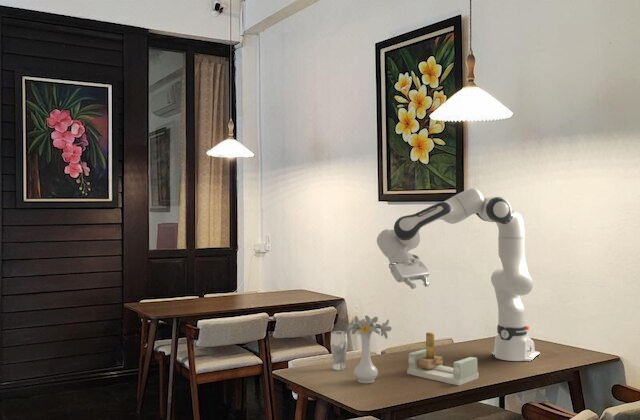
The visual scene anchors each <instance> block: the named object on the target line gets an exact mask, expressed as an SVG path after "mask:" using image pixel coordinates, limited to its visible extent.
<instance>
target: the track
mask: <svg viewBox="0 0 640 420" xmlns="http://www.w3.org/2000/svg"><path fill="white" fill-rule="evenodd" d="M424 357H426V348H424V349H420V350H416V351H412V352H409V353H408V361H407V362H408V367H407V369H406V371H407V372H406V374H407V375H410V374H411V376H414V377H415V376H416V377H419V378H424V379H429V380H432V381H438V382H442V383H447V384H451V385H455V386H462V385H464V384H466V383H467V384H468V383H470V382H472V381H475V380H478V379H479V378H480V377H479V376H480V375H479V374H480V373H479V372H478V357H473V356H469V357H466V358H462V359H460V360H456V361H454V362H453V367H451V366H445V365H443V364H442V365H439V366H436V367H433V368H430V369H426V368H421V367H418V359H420V358H424Z"/></svg>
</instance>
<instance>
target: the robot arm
mask: <svg viewBox="0 0 640 420" xmlns="http://www.w3.org/2000/svg"><path fill="white" fill-rule="evenodd" d="M472 215H476V216H477V217H478V218H479V219H480V220H482V221H484V222H488V223H496V226H497V228H498V239H497V240H498V242H497V243H498V257H499V259H500V262H501V266H502V267H500V268H497V269H495V270H494V271H493V272H492V273H491V276H490V281H491V285H492V286H493V288H494V292H495V297H496V303H497V309H498V310H497V311H498V312H497V314H498V320H497V321H498V323H497V327H496V329H497V335H496V336H495V337H494V347H493V348H494V349H493V350H494V351H491V355H492V354H493V355H492V356H494V355H495V356H494V357H495V358H496V359H497V360H502V361H509V362H510V361H511V362H532V361H534V360H535V359H536V358H537V357H536V356H537V355H539V354H540V355H541V352H540V351H538V350H537V351H536V350H535V341H534V340H532V338H531V337H530V336H529V335H528V332H527V331H529V330H530V325H527V324H526V325H525V319H526V317H525V315H526V314H525V311H526V310H525V306H524V304H523V302H522V299H521V296H523V297H524V296H526V295H527V296H528V294H530V293H531V291H533V288H534V280H533V279H532V277H531V276H530V274H529V270H528V269H529V268H528V265H527V260H526V251H525V250H526V247H525V245H526V243H525V242H526V241H525V234H526V233H525V226H524V219H523V217H522V215H521V214H519V213H518V212H515V211H514V210H513V209H512V206H511V203H510V202H509V201H508V200H507V199H506V198H504V197H502V196H501V197H500V196H489V197H484V196H483V194H482V192H481V191H480V190H478V189H476V188H468V189H466V190H464V191H461V192H459V193H457V194H456V195H453V196H451V197H450V198H448V199H446V200H444V201H440V202H438V203H436V204H433V205H430V206H429V207H426V208H424V209H423V210H421V211H420V210H419V211H418V212H416V213H414V214H408V215H403V216H400V217H398V218H397V219H396V220H395V222H394V225H393V229H388V228H386V229H384V230H382V231H380V233H378V236H377V237H376V244H377V247H378V248H379V250H380V251H381V253H382V255H384V256H385V257H386V258H387V259H388V261H389V263H388V268H389V269H390V273H391V275H392V277H393V279H395V281H396V282H397V283H404V284H406V285H407V286H409V288H410V289H411V290H415V289H416V287H417V285H416V284H415V283H414V282H412V281H418V280H419V281H422V282H423V284H422V285H423V286H424V287H425V288H426V287H427V288H428V287H429V286H430V282H429V281H428V277H429V275H430V270H429V269H428V268H427V266H426V265H425V263H423V261H421V259H420V256H418V255H417V254H413V253H411V252H409V251H411V250H413V249H415V248H417V247H418V245H419V243H420V242H421V236H420V230H421V229H422V228H423V227H425V226H427V225H429V224H431V223H434V222H436V221H439V220H442V221H444V222H445V223H448V224H450V225H451V224H452V225H453V224H454V225H455V224H457V223H461V222H462V221H465V220H466V219H467V218H469V217H471V216H472ZM540 355H539V356H540ZM535 357H536V358H535ZM534 358H535V359H534ZM533 359H534V360H533ZM531 360H532V361H531Z"/></svg>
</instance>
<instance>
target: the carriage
mask: <svg viewBox="0 0 640 420" xmlns="http://www.w3.org/2000/svg"><path fill="white" fill-rule="evenodd" d="M425 334H426V335H425V349H426V357H424V358H420V359H418V367H421V368H426V369H430V368H433V367H436V366H439V365H442V366H443V362H444V361H443V360H444V359H443V356H439V355H435V333H434V332H426V333H425Z"/></svg>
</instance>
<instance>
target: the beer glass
mask: <svg viewBox="0 0 640 420" xmlns="http://www.w3.org/2000/svg"><path fill="white" fill-rule="evenodd" d="M346 332H347V331H342V330H335V331H331V333H330V351H331V355H332V365H331V370H333V371H339V372H341V371H346V370H347V368H348V367H347V361H346V360H347V351H348V332H347V333H346ZM345 333H346V334H345Z"/></svg>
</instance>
